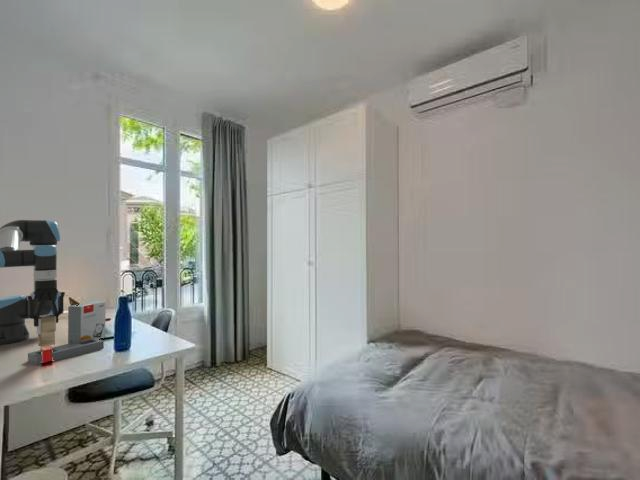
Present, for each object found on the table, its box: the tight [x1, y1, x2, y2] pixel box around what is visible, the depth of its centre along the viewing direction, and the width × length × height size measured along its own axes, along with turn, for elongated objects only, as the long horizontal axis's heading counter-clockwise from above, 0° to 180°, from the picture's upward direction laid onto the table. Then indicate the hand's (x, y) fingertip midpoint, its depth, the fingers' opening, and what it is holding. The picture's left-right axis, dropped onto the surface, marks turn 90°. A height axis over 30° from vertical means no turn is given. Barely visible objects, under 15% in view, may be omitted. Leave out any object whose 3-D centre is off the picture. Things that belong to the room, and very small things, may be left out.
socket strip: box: [27, 338, 105, 366], centre depth 152 cm, size 10×26×4 cm, turn 148°
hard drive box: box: [67, 300, 107, 344], centre depth 171 cm, size 16×8×20 cm, turn 168°
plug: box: [37, 314, 56, 348], centre depth 145 cm, size 5×5×13 cm
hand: (46, 332), depth 145 cm, fingers closed on plug, 5 cm apart
